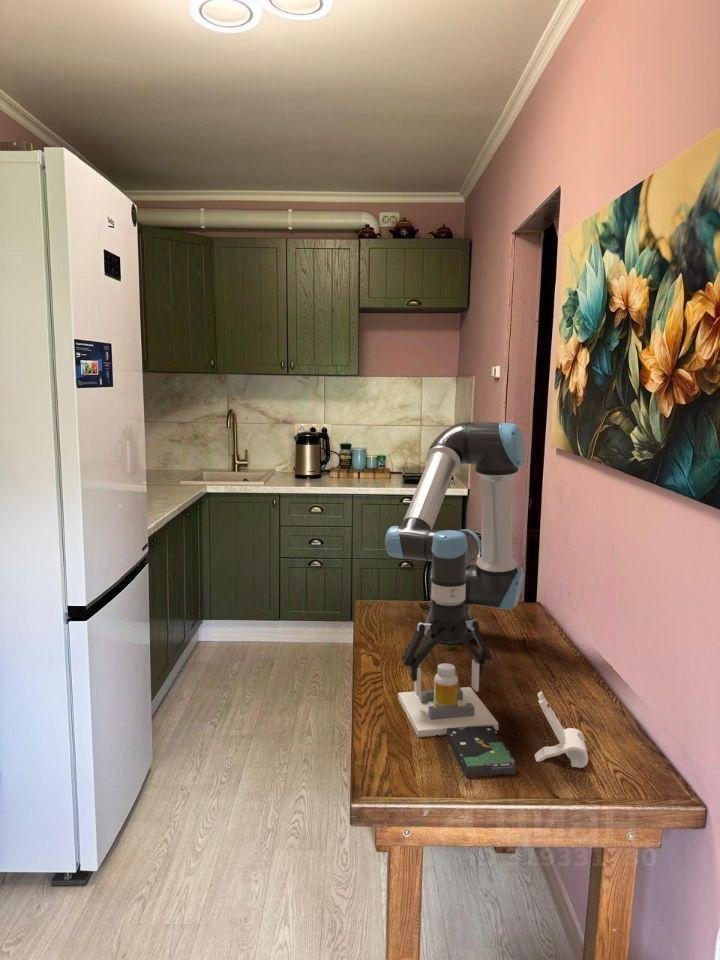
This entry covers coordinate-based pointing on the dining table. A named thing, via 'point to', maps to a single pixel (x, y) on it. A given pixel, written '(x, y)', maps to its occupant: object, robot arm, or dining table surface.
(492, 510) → the robot arm
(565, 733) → the plastic part
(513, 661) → the dining table surface
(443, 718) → the bottle holder
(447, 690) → the supplement bottle
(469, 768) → the disk drive
